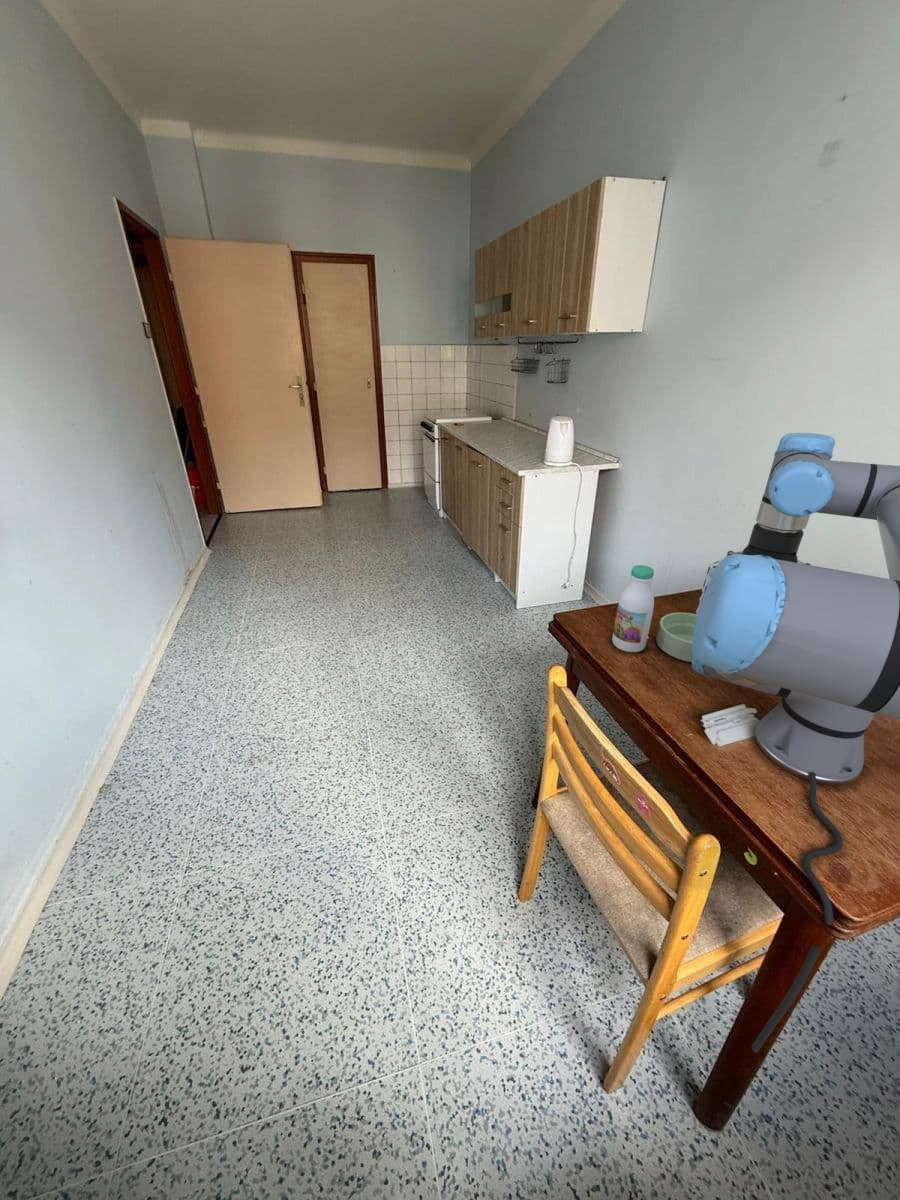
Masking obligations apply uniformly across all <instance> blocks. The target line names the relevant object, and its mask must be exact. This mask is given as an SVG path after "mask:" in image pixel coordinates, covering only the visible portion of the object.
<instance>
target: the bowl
mask: <svg viewBox="0 0 900 1200" xmlns="http://www.w3.org/2000/svg"><path fill="white" fill-rule="evenodd" d="M697 616H698V615H696V614H695V613H691V612H672V613H668V614H664V616H662V617H661V618H660V621H659V624H658V628H657V632H656V636H655V641H656V645H657V647H659V649H661V651H663V652H664V653H665V654H667V655H668V656H670V657H673V658H676V659H677V660H681V661H685V662H688V663H692V658H693V657H692V656H693V654H692V644H693V633H694V628H695V624H696V621H697Z"/></svg>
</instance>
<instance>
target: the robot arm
mask: <svg viewBox="0 0 900 1200" xmlns="http://www.w3.org/2000/svg"><path fill="white" fill-rule="evenodd" d="M835 445H836V440H835V438H834V437H833V436H830V435H827V434H821V433H815V432H814V433H813V432H789V433H787V434H785V435H782V437H781V438H780V440H779V443H778V446H777V448H776V450H775V452H774V458H773V461H772V463H771V468H770V471H769V474H768V478H767V482H766V485H765V488H764V492H763V495H762V499H761V502H760V504H759V507H758V511H757V514H756V517H755V522H756V523H755V524H753V527H752V531H751V534H750V537H749V540H748V544H747V545H746V547H744V548H743V549H742V550H740V551H733V550H728V551H727V553H726V555H725V557H723V558H722V559H720V560H721V561H720V560H719V561H720V562H719V563H718V565H717V566H716V568H715V570H714V572H713V574H712V578H711V581H710V582H709V584H708V586H707V588H706V591H705V594H704V597H703V599H702V603H701V606H700V609H699V613H698V616H697V621H696V624H695V628H694V633H693V644H692V654H693V656H692V657H693V658H692V662H691V667H692V669H693V670H694V671H695V673H698V674H700V675H703V676H705V677H706V678H709V679H717V680H720V681H723V682H727V683H731V684H734V685H737V686H741V687H745V688H748V689H752V690H754V691H758V692H762V693H765V694H769V695H772V696H775V697H779V698H781V700H780V701H779V702H778V703H777V704H776V705H775V706H774V707H773V708H772V709H771V710H769V712H768V713H766V714H765V715H764V716H763V717H762V718H761V720H760V721H759V722H758V724H757V726H756V729H755V732H754V737H755V742H756V744H757V746H758V747H759V749H760V751H761V752H762V753H763V754H764V756H766V757H767V759H769V760H770V761H771V762H772V763H774V764H775V765H776V766H778V767H780V768H781V769H782V770H784V771H785V772H787V773H789V774H791V775H793V776H795V777H797V778H799V779H803V780H805V781H807V782H809V791H808V792H809V793H808V801H809V804H810V807H811V809H812V811H813V812H814V814H815V815H816V817H817V818H818V819H819V820H820V821H821V822H822V824H824V825H825V826H826V827H827V829H828V830H829V831H830V833H831V834H832V835H833V837H834V843H833V844H832V845H830V846H826V847H821V848H816V849H812V850H810V851H808V852H806V853H805V854H804V856H803V858H802V868H803V871H804V874H805V876H806V877H807V879H808V880H809V882H810V883H811V885H812V886H813V887H814V889H815V890H816V892H817V894H818V896H819V897H820V900H821V902H822V905H823V918H824V922H825V924H827V925H828V926H833V925H834V910H833V906H832V902H831V900H830V897H829V894H828V893H827V892H826V890H825V888H824V886H823V885H822V884H821V883H820V881H819V880H818V878H817V877H816V875H815V874H814V872H813V870H812V867H811V865H812V861H813V860H814V859H815V858H819V857H823V856H829V855H834V854H835V853H838V852H839V851H840V850H841V849H842V848H843V844H844V842H843V841H844V840H843V837H842V834H841V833H840V831H839V830H838V828H837V827H836V826H835V824H833V823H832V821H831V820H829V818H828V817H827V815H825V814H824V813H823V812H822V810H821V808H820V807H819V805H818V802H817V784H820V785H825V786H846V785H849V784H851V783H854V782H856V780H857V779H858V778H859V777H860V774H861V773H862V771H863V768H864V764H865V733H866V731H867V730H868V728H869V726H870V724H871V722H872V720H873V719H874V717H875V715H880V716H884V717H888V718H891V719H899V720H900V465H894V464H893V465H892V464H877V463H865V462H856V461H855V462H854V461H843V460H832V458H833V456H834V455H833V452H834V449H835ZM815 513H817V514H824V515H825V514H826V515H834V516H841V517H849V518H856V519H866V520H873V521H876V523H877V526H878V531H879V536H880V541H881V545H882V550H883V554H884V559H885V564H886V569H887V572H888V573H887V574H888V578H886V577H881V576H874V575H868V574H862V573H859V572H858V573H857V572H852V571H847V570H846V571H845V570H840V569H834V568H828V567H824V566H823V567H822V566H817V565H812V564H810V563H808V562H802V561H801V560H799V559H798V551H799V548H800V545H801V542H802V539H803V537H804V533H805V531H803V530H805V529H806V528H807V525H808V522H809V520H810V517H811V515H812V514H815ZM821 951H822V948H820V947H818V946H816V945H814V944H812V945H811V947H810V949H809V950H808V954H807V955H806V957H805V960H804V962H803V964H802V966H801V968H800V970H799V972H798V973H797V975H796V978H795V980H793V983H792V985H791V986H790V987H789V990H788V991H787V993H786V995H785V996H784V997H783V999H782V1001H781V1002H780V1003H779V1005H778V1007H777V1008H776V1010H775V1011H774V1012H773V1014H772V1015H771V1017H770V1018H769V1019H768V1021H767V1022H766V1024H765V1025H764V1027H763V1028H762V1029H761V1031H760V1033H759V1034H758V1036H757V1037H756V1038H755V1040H754V1041H753V1044H752V1045H751V1050H752V1051H753V1052H754V1053H756V1054H758V1052H759V1051H760V1050H761V1048H762V1046H763V1045H764V1043H765V1042H766V1041H767V1039H768V1037H769V1036H770V1035H771V1034H772V1032H773V1031H774V1029H775V1028H776V1026H777V1025H778V1024H779V1023H780V1021H781V1020H782V1018H783V1017H784V1016H785V1014H786V1013H787V1011H788V1010H789V1009H790V1007H791V1006H792V1004H793V1002H794V1001H795V999H796V998H797V996H798V995H799V993H800V991H801V989H802V988H803V986H804V984H805V983H806V981H807V979H808V977H809V975H810V974H811V971H812V969H813V967H814V966H815V964H816V962H817V959H818V957H819V955H820V953H821Z"/></svg>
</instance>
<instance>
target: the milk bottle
mask: <svg viewBox="0 0 900 1200" xmlns="http://www.w3.org/2000/svg"><path fill="white" fill-rule="evenodd" d="M654 572H655V571H654V569H653V568H652V567H650V566H648V565H643V564H638V565H633V566H632V567H631V571H630V581H629V582H628V585H627V586H626V587H625V589H624V590H623V591H622V593H621V594H620V597H619V600H618V604H617V609H616V614H615V620H614V626H613V631H612V638H611V641H612V644H613V646H615V647H616V648H617V649H619V650H620V651H624V652H626V653H627V652H628V653H638V652H641V651H643V650H645V648H646V646H647V642H648V636H649V633H650V629H651V628H650V627H651V623H652V619H653V613H654V608H655V597H654V593H653V590H652V584H651V583H652V581H653V577H654Z"/></svg>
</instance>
